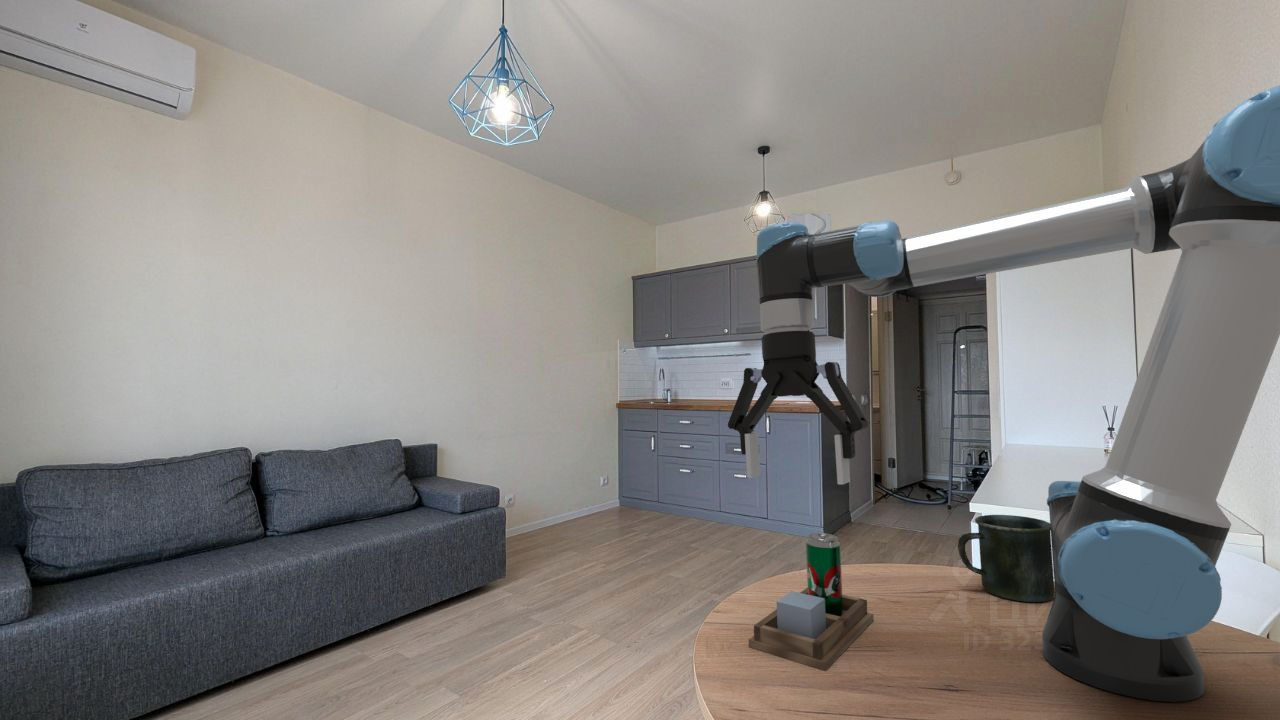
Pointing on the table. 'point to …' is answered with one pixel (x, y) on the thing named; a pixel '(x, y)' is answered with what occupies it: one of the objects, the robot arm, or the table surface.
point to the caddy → (822, 648)
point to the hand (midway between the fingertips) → (796, 479)
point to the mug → (1013, 557)
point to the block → (801, 614)
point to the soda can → (825, 571)
